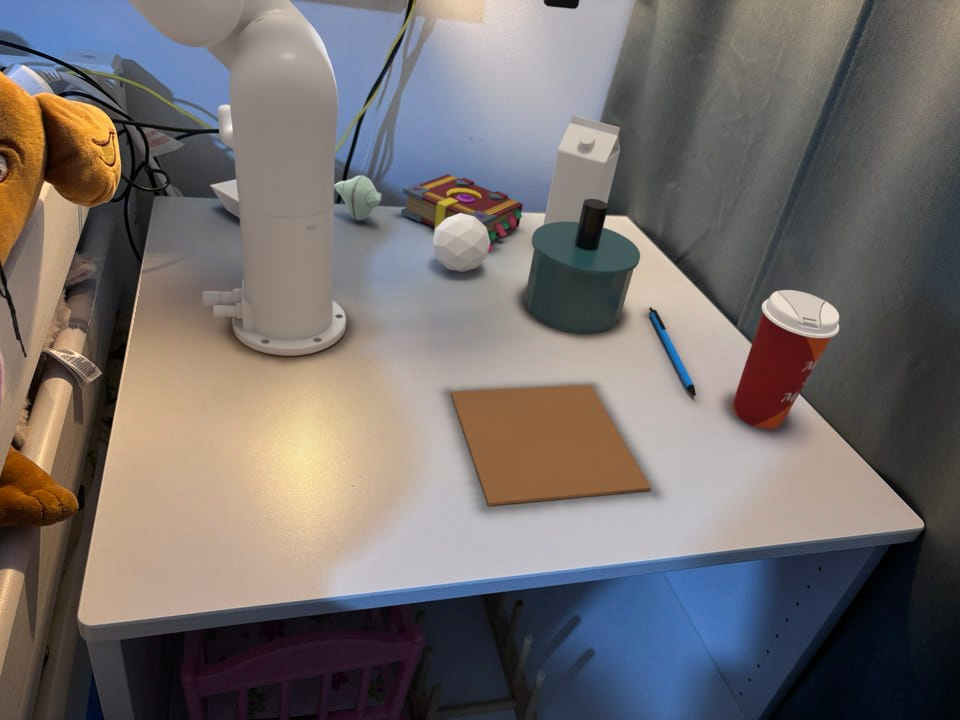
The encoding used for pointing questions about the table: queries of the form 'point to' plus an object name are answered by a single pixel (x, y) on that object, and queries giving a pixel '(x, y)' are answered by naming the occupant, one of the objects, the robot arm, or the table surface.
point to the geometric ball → (461, 242)
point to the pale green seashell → (359, 196)
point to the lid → (586, 244)
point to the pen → (672, 351)
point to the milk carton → (582, 168)
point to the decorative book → (462, 204)
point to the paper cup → (783, 355)
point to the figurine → (229, 188)
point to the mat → (545, 444)
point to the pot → (574, 297)
